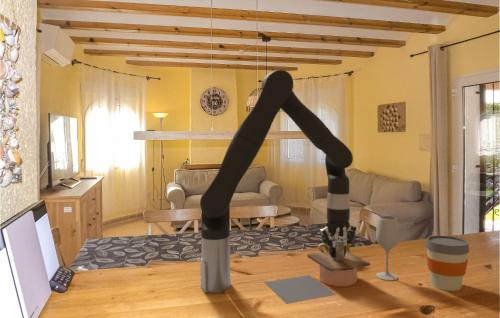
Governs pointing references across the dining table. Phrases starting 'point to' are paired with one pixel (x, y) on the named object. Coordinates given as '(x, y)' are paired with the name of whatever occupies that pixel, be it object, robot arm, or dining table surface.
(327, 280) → the bowl
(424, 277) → the dining table surface
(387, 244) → the wineglass
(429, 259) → the reusable coffee cup
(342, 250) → the lid
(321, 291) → the mat
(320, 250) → the mug
